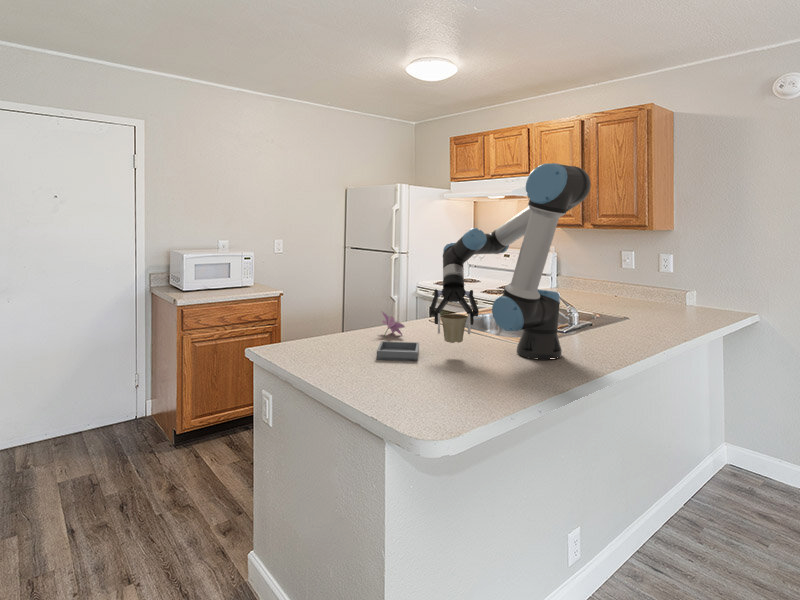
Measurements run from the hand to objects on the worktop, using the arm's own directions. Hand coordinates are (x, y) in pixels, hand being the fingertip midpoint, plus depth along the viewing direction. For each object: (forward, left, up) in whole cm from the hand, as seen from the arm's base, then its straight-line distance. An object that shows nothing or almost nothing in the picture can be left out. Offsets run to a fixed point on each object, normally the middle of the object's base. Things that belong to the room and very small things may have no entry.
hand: (454, 331), depth 168 cm
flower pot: (0, -3, -4) cm, 5 cm away
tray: (+19, -3, -9) cm, 21 cm away
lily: (+24, -32, -10) cm, 41 cm away
